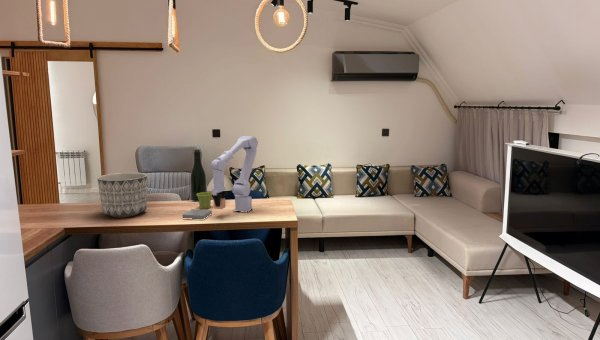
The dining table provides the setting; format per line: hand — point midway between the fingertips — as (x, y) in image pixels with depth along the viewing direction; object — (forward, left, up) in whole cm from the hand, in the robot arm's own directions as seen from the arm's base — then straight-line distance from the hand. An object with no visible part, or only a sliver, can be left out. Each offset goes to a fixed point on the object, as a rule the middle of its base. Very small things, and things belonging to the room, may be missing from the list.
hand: (219, 205), depth 245 cm
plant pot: (+16, -17, -7) cm, 24 cm away
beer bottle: (+28, -36, -7) cm, 46 cm away
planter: (+55, +5, -7) cm, 56 cm away
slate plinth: (+12, +3, -7) cm, 14 cm away
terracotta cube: (0, 0, -2) cm, 2 cm away
